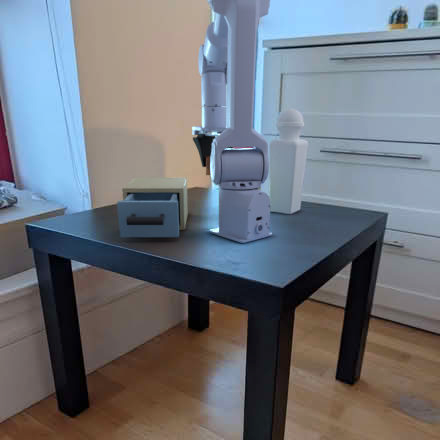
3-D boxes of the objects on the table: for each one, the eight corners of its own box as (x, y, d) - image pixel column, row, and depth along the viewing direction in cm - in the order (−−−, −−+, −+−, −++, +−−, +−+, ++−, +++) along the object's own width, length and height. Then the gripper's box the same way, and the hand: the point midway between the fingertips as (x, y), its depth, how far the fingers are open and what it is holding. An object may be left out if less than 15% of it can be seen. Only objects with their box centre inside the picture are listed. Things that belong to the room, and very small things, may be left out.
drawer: (177, 244, 70) (175, 207, 68) (115, 245, 70) (111, 207, 67) (182, 220, 86) (181, 189, 83) (131, 220, 86) (129, 189, 83)
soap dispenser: (265, 211, 97) (270, 108, 88) (278, 206, 102) (284, 108, 93) (291, 215, 94) (299, 108, 85) (303, 209, 99) (311, 108, 90)
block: (222, 172, 104) (222, 156, 102) (222, 175, 100) (222, 157, 99) (206, 172, 104) (205, 156, 102) (206, 175, 100) (205, 157, 98)
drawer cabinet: (184, 230, 82) (183, 188, 79) (125, 230, 82) (121, 188, 79) (187, 213, 95) (186, 177, 91) (136, 214, 94) (133, 177, 91)
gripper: (181, 106, 99) (183, 166, 104) (221, 106, 89) (220, 172, 94) (204, 106, 103) (205, 164, 108) (245, 106, 93) (243, 170, 98)
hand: (214, 168), depth 101 cm, fingers closed on block, 5 cm apart
